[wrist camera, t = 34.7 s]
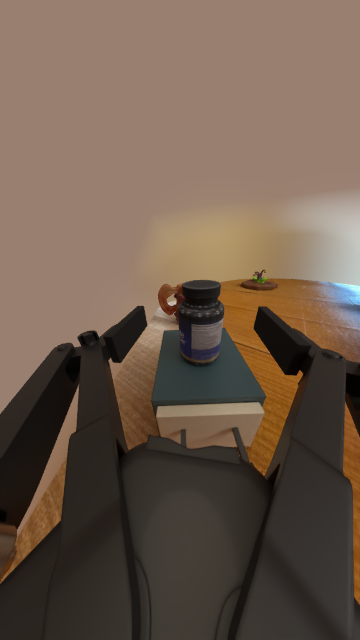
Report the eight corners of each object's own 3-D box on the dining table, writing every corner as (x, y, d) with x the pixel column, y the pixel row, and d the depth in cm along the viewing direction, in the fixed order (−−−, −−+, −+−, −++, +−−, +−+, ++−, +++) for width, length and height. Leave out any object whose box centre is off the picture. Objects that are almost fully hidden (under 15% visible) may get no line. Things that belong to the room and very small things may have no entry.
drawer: (270, 499, 14) (297, 472, 10) (159, 502, 14) (147, 477, 10) (221, 367, 30) (225, 338, 26) (169, 369, 30) (166, 340, 26)
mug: (194, 315, 56) (194, 278, 50) (201, 323, 49) (203, 283, 43) (160, 320, 54) (155, 282, 47) (163, 330, 47) (157, 288, 40)
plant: (259, 291, 81) (264, 272, 76) (236, 285, 98) (239, 269, 92) (282, 287, 87) (287, 269, 82) (257, 282, 104) (260, 267, 99)
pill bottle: (179, 342, 24) (175, 280, 19) (213, 340, 24) (218, 277, 19) (181, 369, 18) (176, 291, 13) (224, 366, 18) (236, 288, 13)
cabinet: (249, 438, 19) (266, 396, 15) (161, 441, 19) (151, 401, 15) (220, 362, 32) (224, 327, 28) (168, 364, 32) (163, 330, 28)
